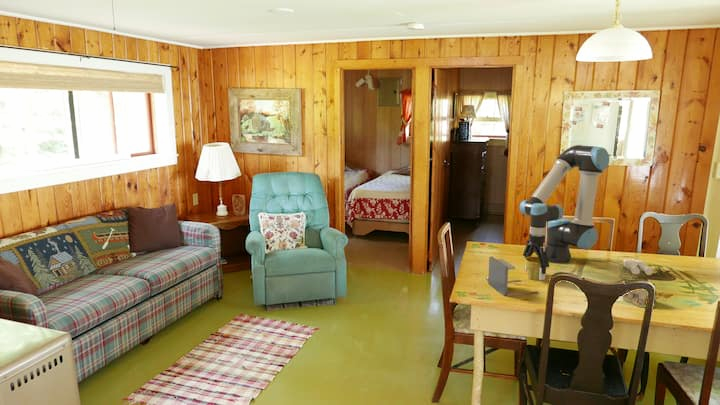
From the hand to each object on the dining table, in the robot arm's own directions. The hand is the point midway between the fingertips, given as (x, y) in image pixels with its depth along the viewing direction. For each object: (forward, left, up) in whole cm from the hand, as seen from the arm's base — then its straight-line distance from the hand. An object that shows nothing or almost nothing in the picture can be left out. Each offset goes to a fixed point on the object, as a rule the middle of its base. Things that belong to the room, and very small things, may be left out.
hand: (534, 275), depth 252 cm
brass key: (+21, -4, -2) cm, 21 cm away
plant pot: (0, 0, -2) cm, 2 cm away
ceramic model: (-29, +39, -2) cm, 48 cm away
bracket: (+17, +10, -2) cm, 20 cm away
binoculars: (-58, +2, -2) cm, 59 cm away
